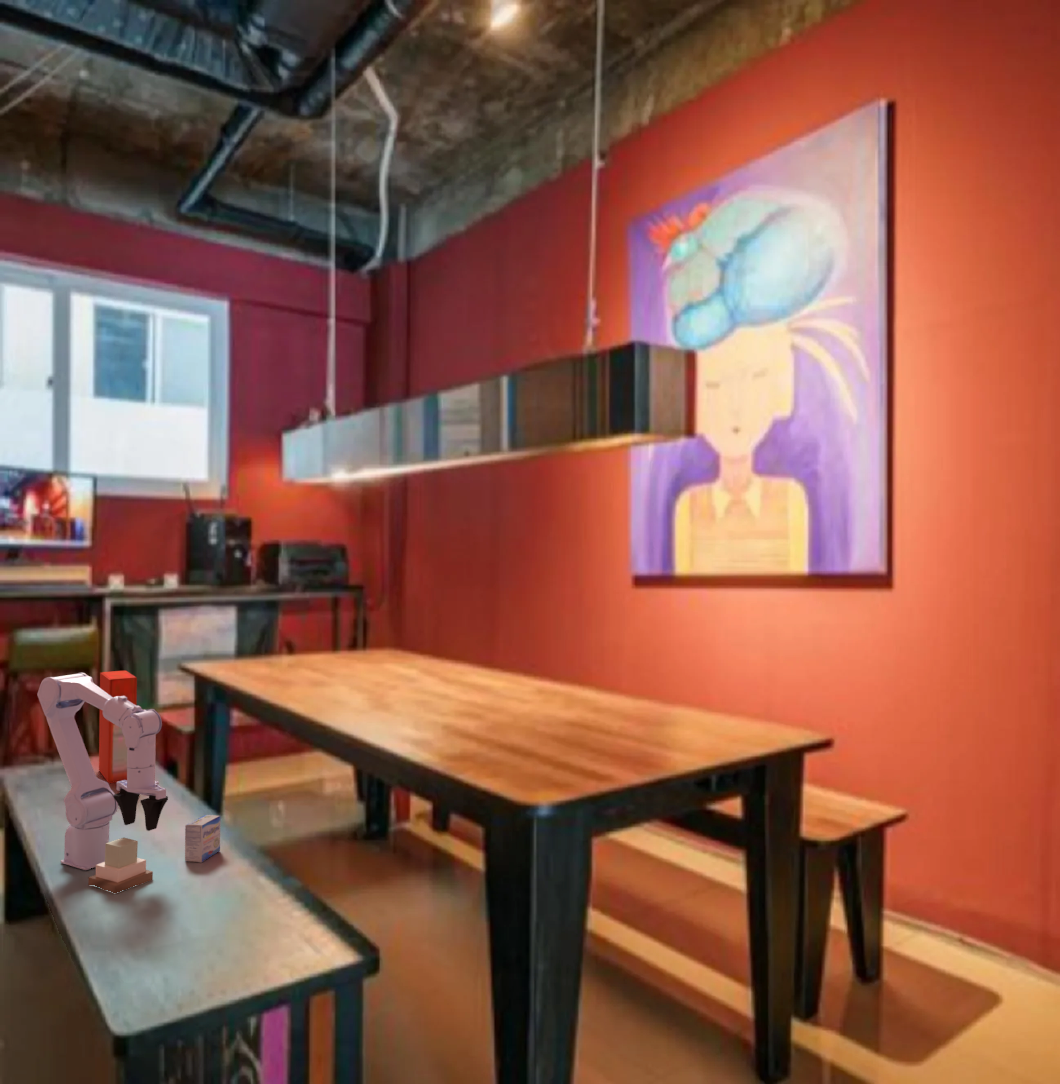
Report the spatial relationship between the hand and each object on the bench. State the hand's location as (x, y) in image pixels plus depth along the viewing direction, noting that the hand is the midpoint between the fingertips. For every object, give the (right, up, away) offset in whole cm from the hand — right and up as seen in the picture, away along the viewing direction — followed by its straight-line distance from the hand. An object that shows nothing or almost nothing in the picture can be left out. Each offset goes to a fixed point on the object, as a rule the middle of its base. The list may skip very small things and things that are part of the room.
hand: (140, 826), depth 187 cm
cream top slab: (-2, -9, -5) cm, 10 cm away
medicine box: (+10, -11, +11) cm, 18 cm away
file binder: (-44, -11, +79) cm, 91 cm away
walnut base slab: (-2, -11, -5) cm, 12 cm away
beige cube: (-2, -6, -6) cm, 8 cm away
